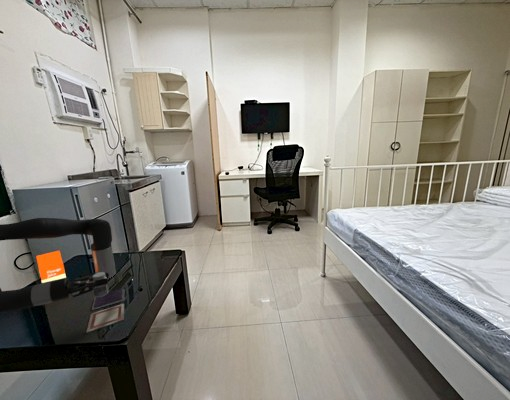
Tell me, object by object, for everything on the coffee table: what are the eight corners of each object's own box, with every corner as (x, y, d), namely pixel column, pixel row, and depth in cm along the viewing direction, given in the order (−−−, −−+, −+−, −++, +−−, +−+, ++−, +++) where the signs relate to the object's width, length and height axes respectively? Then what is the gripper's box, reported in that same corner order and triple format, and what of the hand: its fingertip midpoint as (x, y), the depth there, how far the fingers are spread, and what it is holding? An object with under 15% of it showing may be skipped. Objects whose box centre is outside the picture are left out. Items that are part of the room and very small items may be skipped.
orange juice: (44, 291, 110) (35, 254, 107) (66, 283, 117) (59, 248, 113) (45, 297, 105) (36, 258, 102) (68, 288, 111) (60, 252, 108)
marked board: (86, 333, 80) (86, 331, 80) (91, 314, 91) (90, 313, 91) (123, 320, 86) (123, 319, 86) (124, 304, 97) (124, 303, 96)
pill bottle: (99, 290, 89) (96, 271, 87) (111, 290, 89) (108, 271, 88) (91, 297, 84) (88, 277, 83) (104, 297, 84) (101, 277, 83)
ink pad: (92, 310, 93) (91, 307, 93) (95, 298, 102) (94, 295, 102) (124, 300, 99) (123, 297, 99) (124, 290, 108) (124, 287, 107)
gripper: (43, 291, 72) (105, 276, 80) (55, 273, 84) (108, 262, 92) (47, 311, 73) (108, 295, 81) (59, 291, 85) (110, 278, 94)
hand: (107, 277), depth 87 cm, fingers closed on pill bottle, 4 cm apart
